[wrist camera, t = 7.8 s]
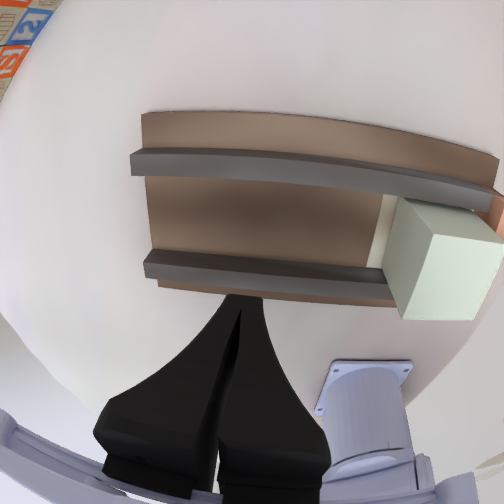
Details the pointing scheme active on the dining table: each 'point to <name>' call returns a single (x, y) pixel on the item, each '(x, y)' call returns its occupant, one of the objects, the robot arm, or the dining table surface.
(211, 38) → the dining table surface
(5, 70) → the stack of blocks
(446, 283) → the sage block
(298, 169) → the chute
